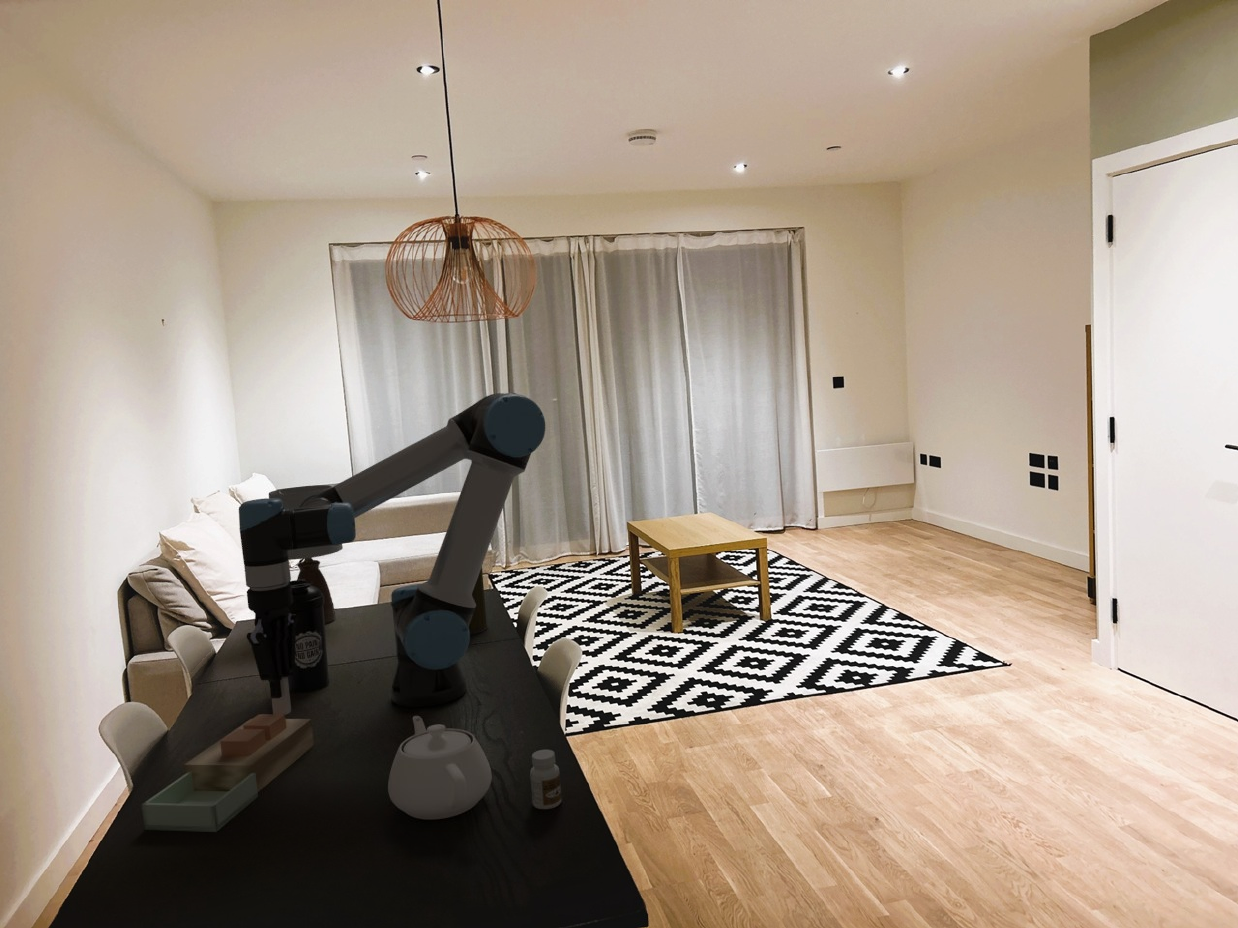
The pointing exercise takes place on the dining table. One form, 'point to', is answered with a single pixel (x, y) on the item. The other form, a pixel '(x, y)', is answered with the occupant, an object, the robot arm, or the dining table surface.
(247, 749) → the tile
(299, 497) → the lamp
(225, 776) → the long beige platform
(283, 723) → the tile
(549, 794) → the pill bottle
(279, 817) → the dining table surface
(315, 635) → the water bottle
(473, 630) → the canister
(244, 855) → the dining table surface
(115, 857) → the dining table surface
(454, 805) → the teapot
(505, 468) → the robot arm
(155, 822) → the tray
